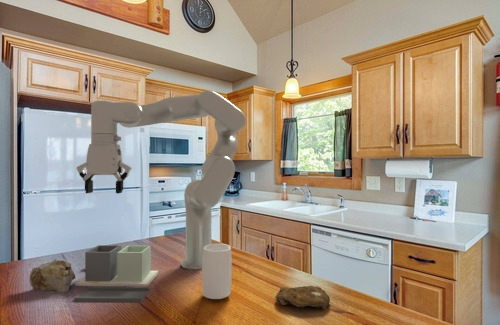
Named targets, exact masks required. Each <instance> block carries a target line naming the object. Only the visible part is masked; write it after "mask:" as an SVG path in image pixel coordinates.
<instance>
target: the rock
mask: <svg viewBox="0 0 500 325" xmlns="http://www.w3.org/2000/svg"><path fill="white" fill-rule="evenodd" d="M76 278H77V277H76V274H75V272H74V271H73V268H72V263H70V262H68V261H66V260H64V259H63V260H59V259H58V260H57V259H55V258H54V259H53V260H52V261H51V262H46V263H43V264H39V265H38V267H34V268H32V269H31V272H30V274H29V278H28V280H29V283H30V284H29V285H30V286H31V287H32V289H33V290H40V291H56V292H58V293H65V292H69V290H70V288H71V285H70V284H71V283H72V281H73V280H75V279H76Z"/></svg>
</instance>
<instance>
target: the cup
mask: <svg viewBox="0 0 500 325" xmlns="http://www.w3.org/2000/svg"><path fill="white" fill-rule="evenodd" d="M232 257H233V256H232V247H231V246H230V245H229V244H226V243H211V244H210V245H207V246H205V247H204V248H203V257H202V270H201V279H202V280H201V281H202V282H201V283H202V295H203V296H204V297H205V298H207V299H211V300H221V299H225V298H227V297H228V296H230V294H231V290H232V276H233V275H232V272H233V271H232V269H233V268H232V267H233V262H232V261H233V260H232Z"/></svg>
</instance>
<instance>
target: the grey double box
mask: <svg viewBox="0 0 500 325" xmlns="http://www.w3.org/2000/svg"><path fill="white" fill-rule="evenodd" d="M121 248H122V245H120V244H119V245H118V244H114V245H111V244H109V245H108V244H107V245H106V244H105V245H104V244H103V245H99V244H97V245H96V246H94V247H92V248H91V249H89V250H87V251H85V254H84V257H85V258H84V259H85V262H84V266H85V267H84V270H85V271H84V272H85V273H84V274H85V275H84V277H82V278H81V279H79V280H78V281H76V282H75V284H74V285H75V286H76V287H77V286H79V287H149V285H150V284H151V282H152V281H153V280H154V279H155V278H156V277H157V275H158V274H159V270H151V264H152V263H151V256H152V255H151V252H152V251H151V250H152V249H151V248H152V247H151V245H126V246H125V247H123V248H122V250H121ZM75 286H74V287H75Z"/></svg>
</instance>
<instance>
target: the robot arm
mask: <svg viewBox="0 0 500 325" xmlns="http://www.w3.org/2000/svg"><path fill="white" fill-rule="evenodd" d="M90 106H91V108H90V109H91V110H90V113H91V114H90V115H91V116H90V121H91V122H90V123H91V124H90V127H91V128H90V129H91V130H90V131H91V132H90V134H91V135H90V136H91V137H90V139H91V141H90V143H89V144H88V148H87V151H86V160H85V161H86V162H84V163H82V164H79V165H78V166H77V167H76V170H77V173H78V174H79V176H80V177H81V178H82V180H83V181H84V191H85V194H91V193H93V192H94V180H93V178H94V176H114V177H115V179H116V181H115V194H122V193H123V191H124V181H125V179H126V178H128V176H129V175H130V173H131V171H132V167H131V166H130V165H128V164H126V163H124V162H123V156H122V150H121V145H120V144H118V143H119V142H120V141H122V137H121V136H119V135H118V124H119V125H120V126H121V127H124V128H128V129H131V128H137V127H145V126H151V125H152V126H153V125H157V124H165V123H171V122H178V121H184V120H185V121H186V120H192V119H194V120H195V119H199V118H205V117H208V116H211V118H213V119H214V129H215V130H216V133H217V141H216V143H215V144H214V146H213V148H212V150H211V151H210V153H209V154H208V156H207V157H206V159H205V160H204V162H203V164H202V166H201V173H202V175H203V177H202V179H195V180H192V181H190V182H189V183H188V184H187V185H186V186H185V189H184V192H183V193H184V196H183V198H184V204H185V205H184V206H185V258H184V259H183V260H182V261H181V263H180V266H181V268H183V269H185V270H189V271H202V257H203V248H204V247H205V246H207V245H210V244H212V223H213V222H212V221H213V220H212V218H213V217H212V208H214V207H215V206H217V204H218V203H220V201H221V199H222V197H223V195H224V194H225V192H226V191H227V189H228V187H229V186H230V184H231V182H232V180H233V178H234V176H235V174H236V173H235V172H236V165H235V163H234V161H233V159H234V157H235V155H236V153H237V150H238V147H239V139H238V132H241V131H242V130H243V129H244V127H245V125H246V116H245V114H244V112H243V111H241V109H240V108H238V107H237V106H235V105H234V104H233V103H232V102H230V101H229V100H228V99H227V98H224V96H222V95H221V94H219V93H217V92H216V91H213V90H210V89H209V90H206V89H205V90H204V91H201V92H200V93H199V94H190V95H180V96H171V97H167V98H164V99H161V100H158V101H155V102H152V103H148V104H141V105H139V104H138V103H136V102H133V101H132V102H131V101H123V102H117V101H116V102H115V101H114V102H113V101H110V100H109V101H108V100H95V101H93V102H92V103H91V105H90ZM85 169H86V172H85ZM123 169H124V172H123Z"/></svg>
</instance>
